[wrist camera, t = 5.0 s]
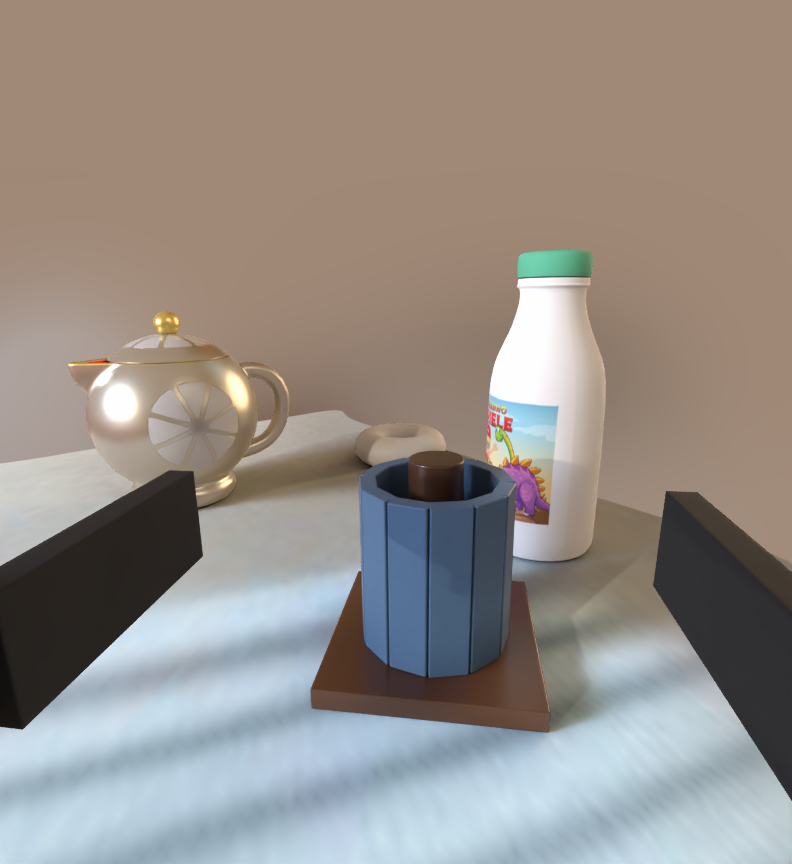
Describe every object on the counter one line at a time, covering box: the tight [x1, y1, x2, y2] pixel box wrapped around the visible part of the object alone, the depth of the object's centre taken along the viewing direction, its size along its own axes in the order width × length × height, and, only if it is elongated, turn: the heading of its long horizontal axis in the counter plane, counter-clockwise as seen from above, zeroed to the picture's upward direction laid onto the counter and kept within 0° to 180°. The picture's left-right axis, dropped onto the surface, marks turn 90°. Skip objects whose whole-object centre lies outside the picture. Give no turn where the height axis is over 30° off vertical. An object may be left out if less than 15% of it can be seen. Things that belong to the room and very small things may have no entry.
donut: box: [355, 423, 446, 466], centre depth 56 cm, size 10×3×10 cm
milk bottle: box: [486, 250, 606, 561], centre depth 35 cm, size 8×8×20 cm
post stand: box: [311, 451, 550, 732], centre depth 25 cm, size 10×10×10 cm
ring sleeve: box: [359, 457, 517, 678], centre depth 25 cm, size 7×7×8 cm
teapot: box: [68, 311, 289, 508], centre depth 46 cm, size 18×14×16 cm
